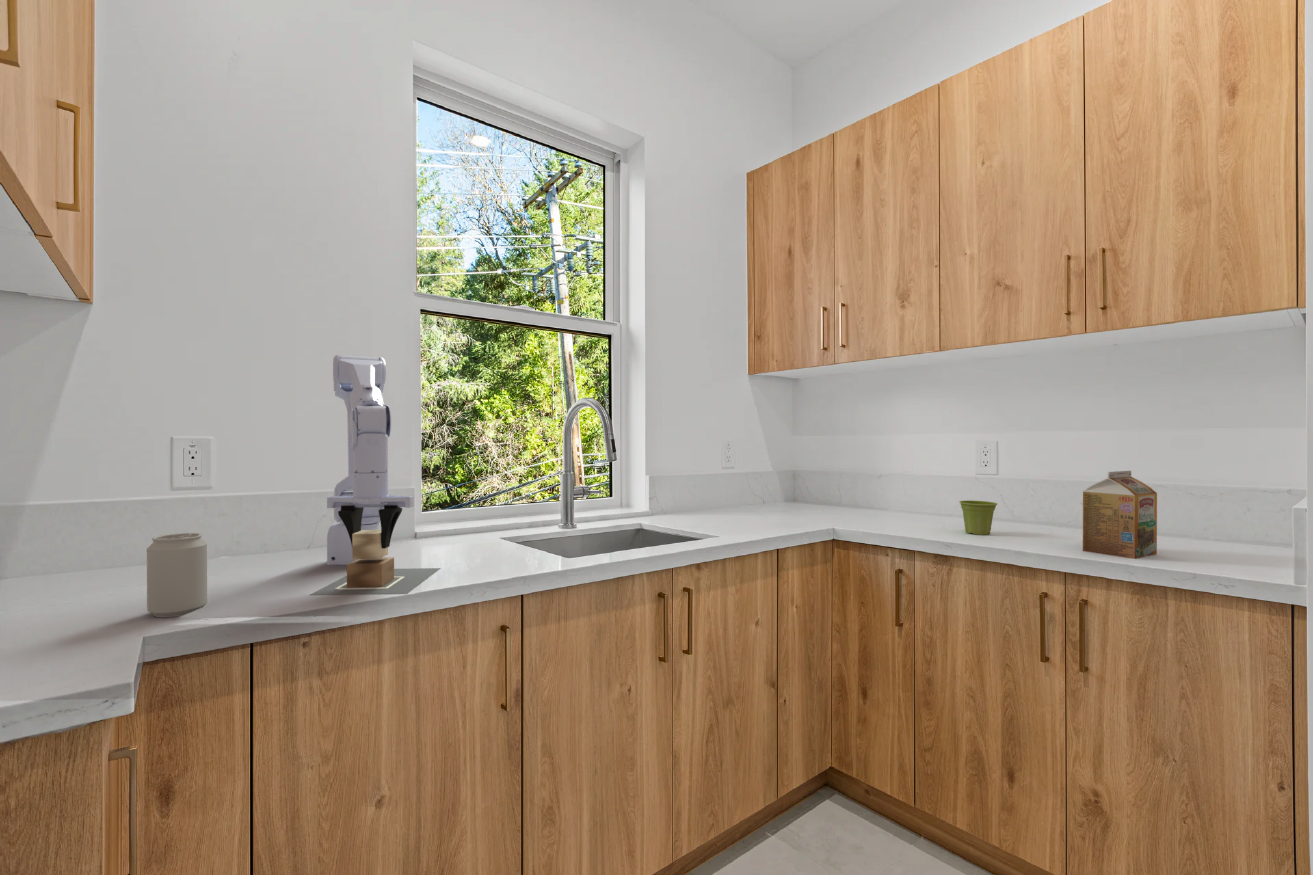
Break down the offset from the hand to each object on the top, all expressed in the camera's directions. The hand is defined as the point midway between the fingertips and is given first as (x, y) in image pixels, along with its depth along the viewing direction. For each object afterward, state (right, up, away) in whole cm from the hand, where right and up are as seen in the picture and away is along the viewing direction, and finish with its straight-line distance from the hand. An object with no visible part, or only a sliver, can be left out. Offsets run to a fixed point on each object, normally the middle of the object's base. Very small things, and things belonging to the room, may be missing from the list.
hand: (371, 547), depth 113 cm
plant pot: (+141, -7, +61) cm, 154 cm away
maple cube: (0, -2, 0) cm, 2 cm away
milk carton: (+159, -7, +33) cm, 163 cm away
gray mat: (+1, -7, +2) cm, 8 cm away
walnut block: (0, -6, 0) cm, 6 cm away
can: (-23, -8, -15) cm, 29 cm away
